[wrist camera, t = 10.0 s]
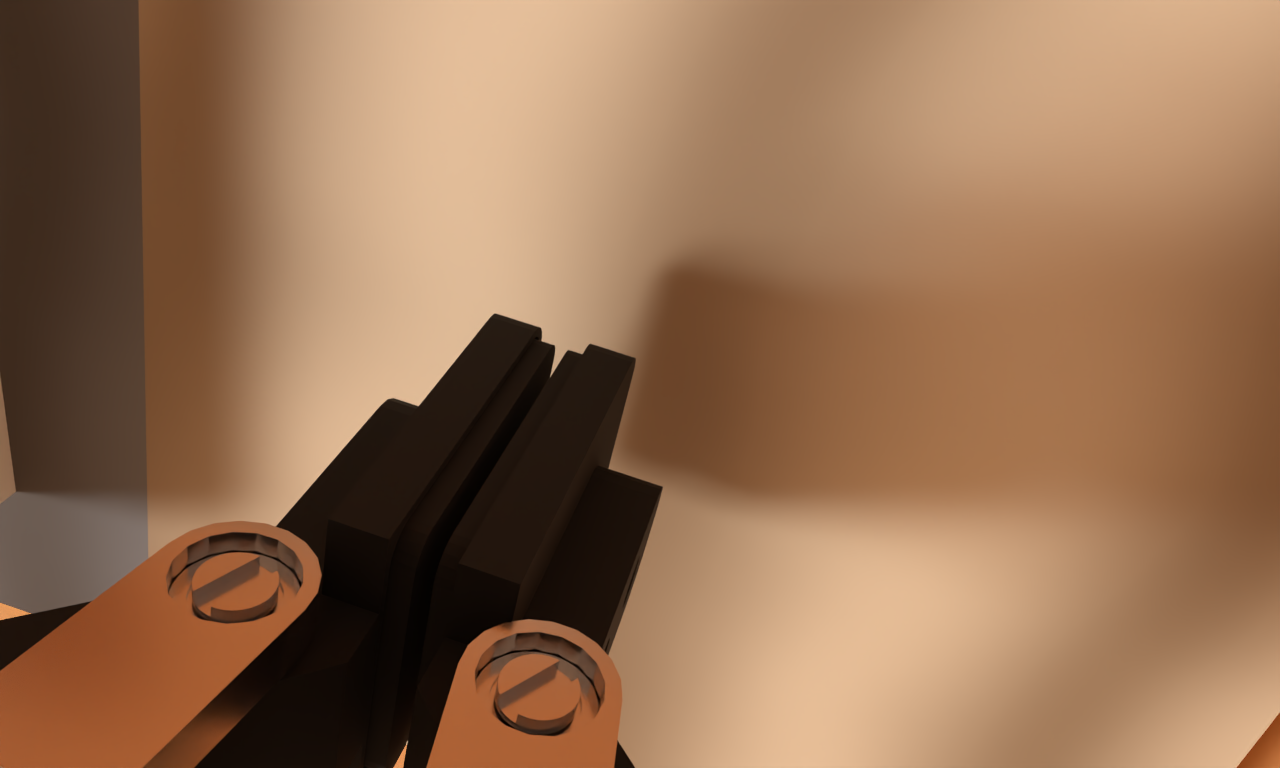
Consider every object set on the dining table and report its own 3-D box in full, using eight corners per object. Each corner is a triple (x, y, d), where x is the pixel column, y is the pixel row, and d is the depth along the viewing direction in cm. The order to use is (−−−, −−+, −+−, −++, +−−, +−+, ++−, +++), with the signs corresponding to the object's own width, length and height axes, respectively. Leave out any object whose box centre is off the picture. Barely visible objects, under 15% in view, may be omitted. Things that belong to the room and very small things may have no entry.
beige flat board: (1642, -8, 11) (1808, 38, 9) (1054, 844, 19) (1072, 976, 17) (-880, -684, 14) (-1205, -771, 12) (-504, 315, 22) (-659, 372, 19)
